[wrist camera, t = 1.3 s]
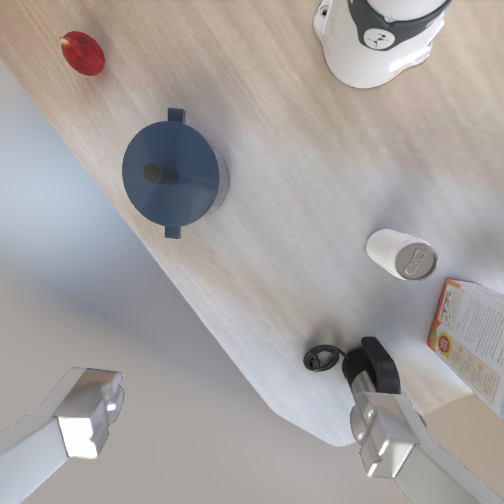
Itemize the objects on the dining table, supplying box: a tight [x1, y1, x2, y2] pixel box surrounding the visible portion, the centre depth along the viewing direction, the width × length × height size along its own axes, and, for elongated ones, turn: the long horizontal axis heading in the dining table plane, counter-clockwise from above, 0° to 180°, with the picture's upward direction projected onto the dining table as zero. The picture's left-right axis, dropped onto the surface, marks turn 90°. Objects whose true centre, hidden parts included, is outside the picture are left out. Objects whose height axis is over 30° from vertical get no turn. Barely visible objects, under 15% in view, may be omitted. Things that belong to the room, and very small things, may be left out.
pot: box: [165, 108, 229, 239], centre depth 44 cm, size 14×20×10 cm
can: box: [366, 229, 438, 281], centre depth 42 cm, size 6×6×12 cm
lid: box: [122, 121, 220, 227], centre depth 37 cm, size 16×16×7 cm
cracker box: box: [427, 279, 504, 422], centre depth 39 cm, size 14×6×21 cm, turn 173°
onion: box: [59, 31, 105, 76], centre depth 43 cm, size 6×6×8 cm
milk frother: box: [303, 337, 427, 428], centre depth 46 cm, size 14×16×15 cm
